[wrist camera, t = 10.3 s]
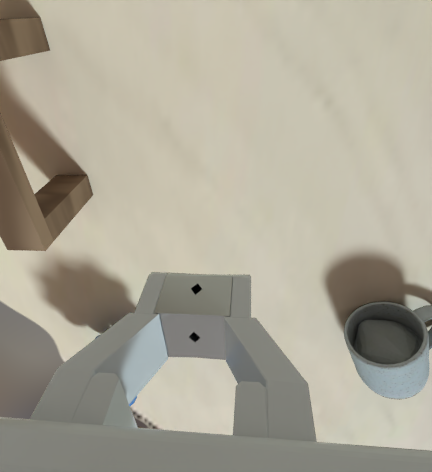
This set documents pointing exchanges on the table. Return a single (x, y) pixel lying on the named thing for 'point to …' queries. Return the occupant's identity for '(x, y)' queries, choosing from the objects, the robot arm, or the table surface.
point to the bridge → (14, 177)
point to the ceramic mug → (390, 347)
